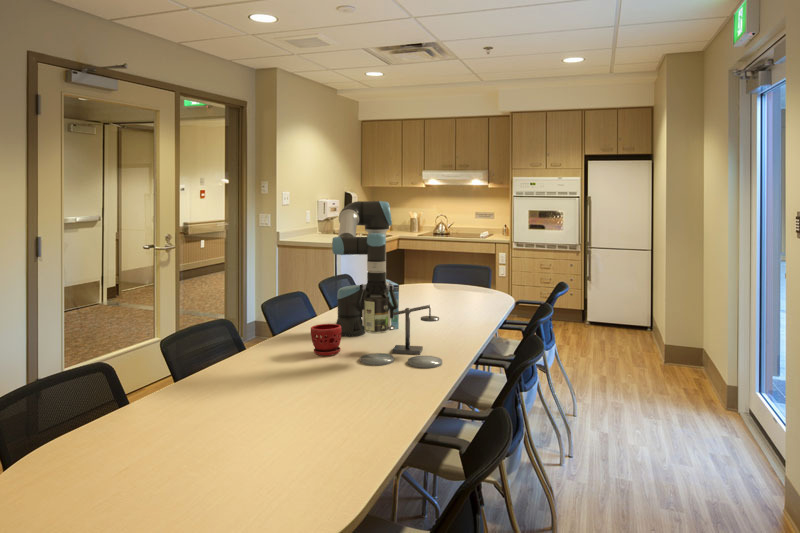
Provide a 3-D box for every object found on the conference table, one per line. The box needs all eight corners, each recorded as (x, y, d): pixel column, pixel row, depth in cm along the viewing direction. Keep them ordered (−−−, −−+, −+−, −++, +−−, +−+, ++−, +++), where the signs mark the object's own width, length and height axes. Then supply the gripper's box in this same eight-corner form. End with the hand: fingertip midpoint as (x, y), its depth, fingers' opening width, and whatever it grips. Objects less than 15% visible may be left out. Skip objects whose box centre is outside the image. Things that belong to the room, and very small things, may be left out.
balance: (374, 352, 253) (374, 304, 251) (379, 347, 261) (378, 301, 259) (437, 355, 248) (438, 306, 246) (440, 350, 256) (440, 303, 253)
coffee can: (391, 328, 243) (391, 295, 242) (386, 334, 233) (386, 299, 232) (367, 327, 245) (367, 294, 244) (361, 333, 235) (361, 298, 234)
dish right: (405, 367, 232) (405, 364, 232) (410, 357, 245) (410, 354, 245) (440, 369, 229) (440, 366, 229) (444, 359, 243) (444, 356, 243)
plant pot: (345, 350, 257) (345, 323, 256) (335, 358, 244) (335, 330, 243) (317, 348, 260) (317, 322, 259) (306, 356, 247) (305, 328, 246)
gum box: (379, 321, 314) (378, 279, 311) (388, 321, 315) (388, 279, 312) (389, 329, 295) (389, 285, 293) (399, 329, 297) (399, 284, 294)
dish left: (356, 364, 235) (356, 361, 235) (364, 355, 249) (364, 352, 249) (390, 366, 233) (390, 363, 233) (396, 356, 246) (396, 353, 246)
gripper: (347, 272, 235) (347, 326, 237) (402, 273, 231) (402, 328, 233) (352, 269, 242) (352, 322, 245) (405, 271, 238) (405, 324, 241)
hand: (376, 325), depth 239 cm, fingers closed on coffee can, 10 cm apart
